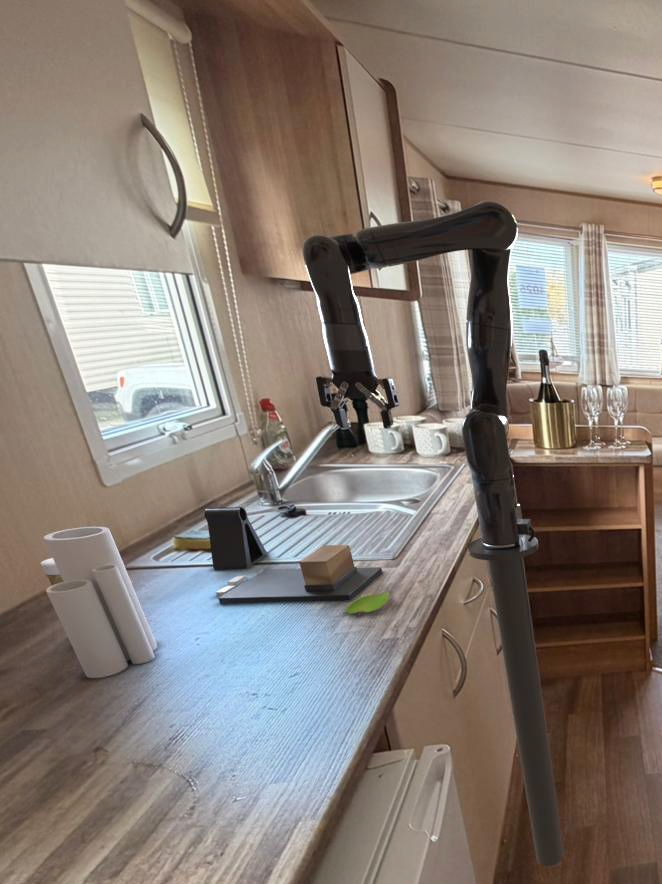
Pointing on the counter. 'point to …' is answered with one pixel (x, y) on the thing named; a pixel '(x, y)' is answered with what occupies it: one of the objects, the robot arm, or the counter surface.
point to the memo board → (295, 587)
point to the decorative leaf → (368, 603)
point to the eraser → (327, 568)
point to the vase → (98, 602)
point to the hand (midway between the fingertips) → (366, 427)
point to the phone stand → (232, 538)
